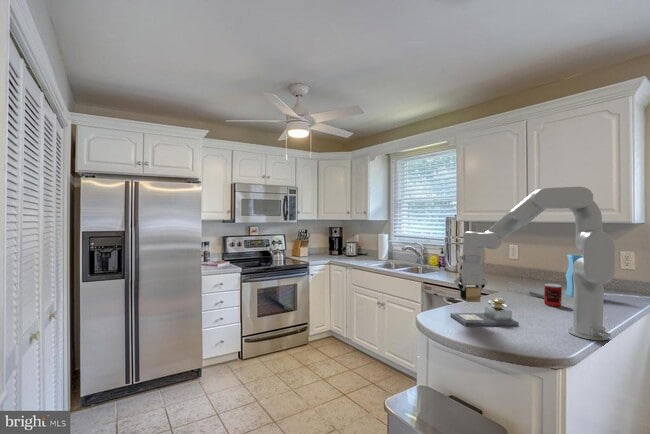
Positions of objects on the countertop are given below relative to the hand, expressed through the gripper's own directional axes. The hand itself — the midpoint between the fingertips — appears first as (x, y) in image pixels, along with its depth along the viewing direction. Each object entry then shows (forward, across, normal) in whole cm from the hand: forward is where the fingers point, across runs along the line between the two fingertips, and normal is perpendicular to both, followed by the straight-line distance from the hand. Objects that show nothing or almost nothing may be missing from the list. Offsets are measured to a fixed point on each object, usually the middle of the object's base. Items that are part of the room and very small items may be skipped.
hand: (470, 298), depth 149 cm
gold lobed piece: (+5, +13, 0) cm, 14 cm away
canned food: (+10, +61, +26) cm, 67 cm away
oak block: (+1, 0, 0) cm, 1 cm away
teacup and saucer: (+11, +32, +29) cm, 44 cm away
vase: (+10, +93, +45) cm, 104 cm away
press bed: (+10, +6, 0) cm, 12 cm away
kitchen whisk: (+10, +65, +49) cm, 82 cm away
